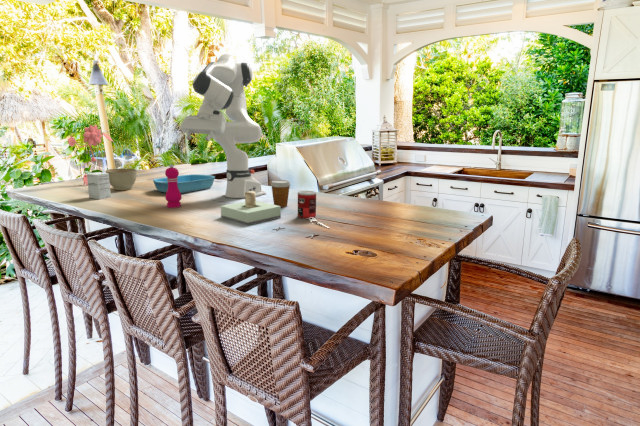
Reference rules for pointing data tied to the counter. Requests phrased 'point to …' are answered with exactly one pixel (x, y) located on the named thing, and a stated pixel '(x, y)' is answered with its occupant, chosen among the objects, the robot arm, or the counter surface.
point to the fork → (318, 222)
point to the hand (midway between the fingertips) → (197, 139)
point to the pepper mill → (172, 188)
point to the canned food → (306, 204)
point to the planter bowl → (122, 178)
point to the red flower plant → (90, 142)
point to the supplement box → (98, 185)
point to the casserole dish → (186, 183)
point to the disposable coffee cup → (280, 192)
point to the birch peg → (250, 199)
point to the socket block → (250, 212)
